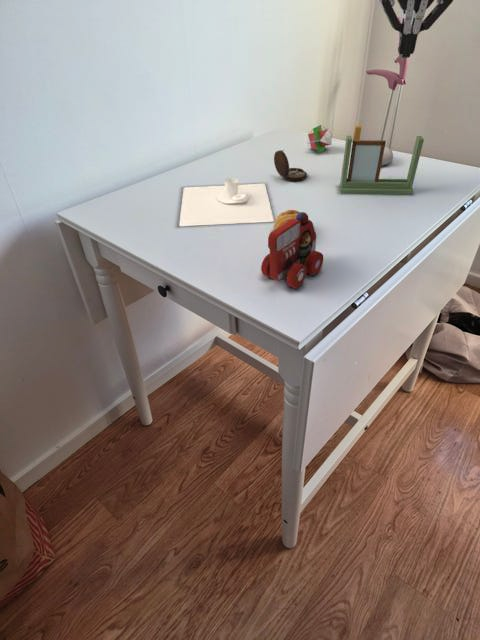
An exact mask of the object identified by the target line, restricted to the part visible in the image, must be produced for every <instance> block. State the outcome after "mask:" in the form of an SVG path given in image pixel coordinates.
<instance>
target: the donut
mask: <svg viewBox="0 0 480 640" xmlns="http://www.w3.org/2000/svg"><path fill="white" fill-rule="evenodd" d="M393 158H394V152H393V150H392V149H391V148H390V147H388V146H386V145H385V148H384V154H383V159H382V164H381V167H382V166H386V165H388V164H390V162H391V161H393Z"/></svg>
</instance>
